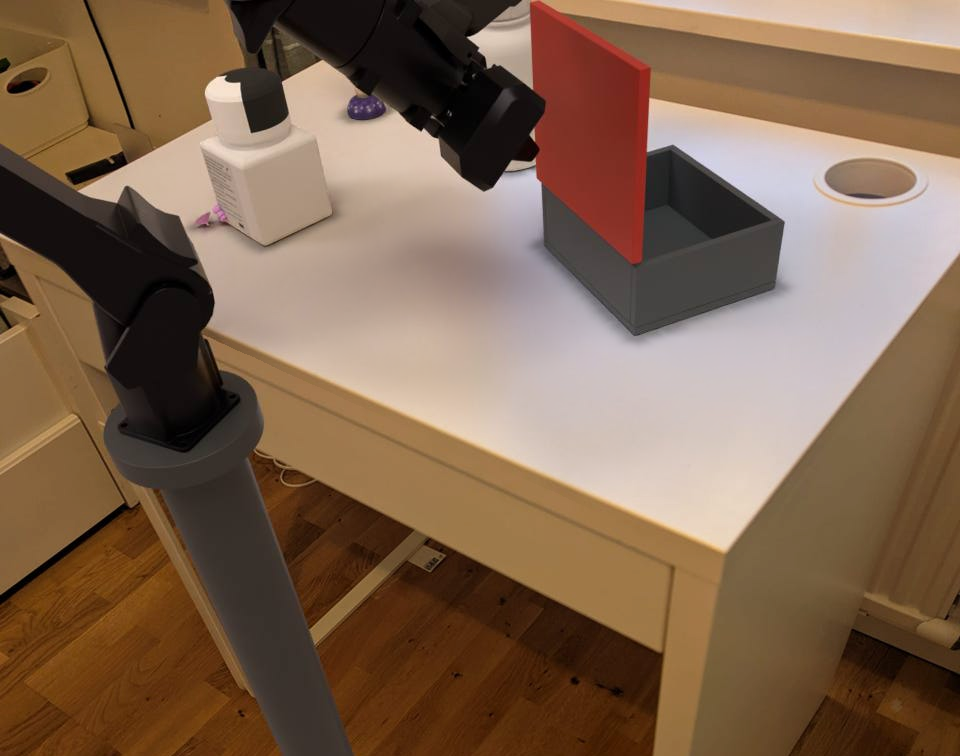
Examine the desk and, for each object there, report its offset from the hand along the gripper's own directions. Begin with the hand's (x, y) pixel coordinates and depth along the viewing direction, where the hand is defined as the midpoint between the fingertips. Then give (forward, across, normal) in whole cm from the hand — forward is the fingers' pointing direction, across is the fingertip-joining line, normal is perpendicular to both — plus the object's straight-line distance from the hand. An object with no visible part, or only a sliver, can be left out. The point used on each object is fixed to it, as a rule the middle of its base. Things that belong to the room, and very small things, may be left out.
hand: (534, 154), depth 65 cm
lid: (+3, 0, -4) cm, 4 cm away
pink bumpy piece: (-6, +28, +23) cm, 37 cm away
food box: (+16, 0, +2) cm, 16 cm away
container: (-2, +26, +19) cm, 32 cm away
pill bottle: (+15, +25, +2) cm, 29 cm away
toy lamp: (+9, +44, +9) cm, 45 cm away
